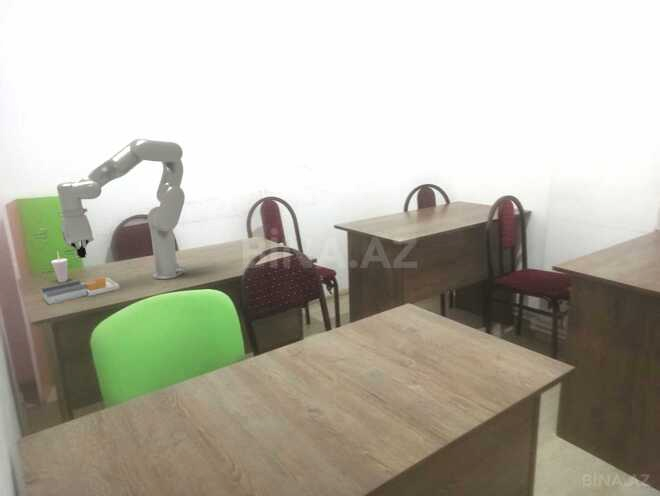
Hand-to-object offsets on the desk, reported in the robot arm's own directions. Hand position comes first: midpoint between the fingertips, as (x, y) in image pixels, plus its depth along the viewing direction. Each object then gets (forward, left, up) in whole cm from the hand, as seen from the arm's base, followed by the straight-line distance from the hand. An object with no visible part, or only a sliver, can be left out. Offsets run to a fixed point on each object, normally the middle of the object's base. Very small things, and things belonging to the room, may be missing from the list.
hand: (82, 257), depth 197 cm
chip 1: (-1, -1, -15) cm, 15 cm away
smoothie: (+20, -15, -15) cm, 29 cm away
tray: (-3, -3, -15) cm, 16 cm away
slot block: (+6, +6, -15) cm, 17 cm away
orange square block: (-3, -3, -13) cm, 13 cm away
